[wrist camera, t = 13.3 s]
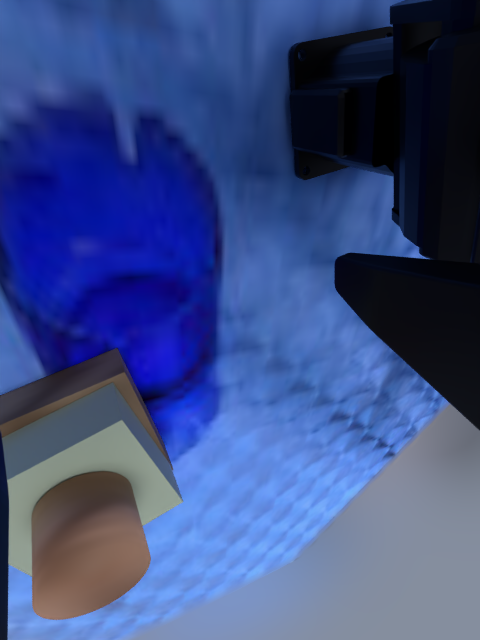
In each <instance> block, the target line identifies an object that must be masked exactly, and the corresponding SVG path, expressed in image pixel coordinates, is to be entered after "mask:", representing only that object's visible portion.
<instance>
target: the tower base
mask: <svg viewBox="0 0 480 640" xmlns="http://www.w3.org/2000/svg"><path fill="white" fill-rule="evenodd" d="M112 382H113V383H114V385H115V386H116V388H117V389H118V390H119V392H120V393H121V395H122V396H123V398H124V399H125V400H126V402H127V403H128V405H129V406H130V408H131V409H132V410H133V412H134V413H135V415H136V416H137V418H138V419H139V421H140V422H141V423H142V425H143V426H144V428H145V429H146V431H147V432H148V433H149V435H150V436H151V438H152V439H153V441H154V442H155V443H156V445H157V446H158V448H159V449H160V451H161V452H162V454H163V455H164V456H165V458H166V459H167V461H168V462H169V464H170V465H171V468H172V470H173V467H172V464H171V462H170V459H169V456H168V453H167V450H166V448H165V445H164V443H163V441H162V438H161V436H160V434H159V432H158V430H157V428H156V426H155V424H154V422H153V420H152V418H151V416H150V414H149V412H148V410H147V408H146V406H145V404H144V402H143V400H142V398H141V395H140V393H139V391H138V389H137V387H136V385H135V383H134V381H133V379H132V377H131V375H130V373H129V371H128V369H127V367H126V365H125V363H124V361H123V359H122V357H121V355H120V352H119V350H118V348H116V349H113V350H111V351H108V352H106V353H104V354H101V355H99V356H96V357H94V358H91V359H89V360H86V361H84V362H81V363H79V364H77V365H74V366H72V367H69V368H67V369H64V370H62V371H59V372H57V373H54V374H52V375H50V376H47V377H45V378H42V379H40V380H37V381H35V382H32V383H30V384H27V385H25V386H23V387H20V388H18V389H15V390H13V391H10V392H8V393H5V394H3V395H0V430H1V434H2V438H3V437H5V436H7V435H9V434H11V433H13V432H15V431H17V430H19V429H21V428H23V427H25V426H27V425H29V424H31V423H33V422H35V421H37V420H39V419H41V418H43V417H45V416H47V415H49V414H51V413H53V412H55V411H57V410H59V409H61V408H63V407H65V406H67V405H69V404H71V403H72V402H74V401H76V400H78V399H80V398H82V397H84V396H86V395H88V394H90V393H92V392H94V391H96V390H98V389H100V388H102V387H104V386H106V385H108V384H110V383H112Z"/></svg>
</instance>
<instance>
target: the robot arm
mask: <svg viewBox="0 0 480 640" xmlns="http://www.w3.org/2000/svg"><path fill="white" fill-rule="evenodd" d="M390 24H393V27H384V28H379V29H373V30H367V31H362V32H356V33H351V34H345V35H340V36H334V37H329V38H323V39H317V40H312V41H306V42H301V43H297V44H295V45H294V46H293V47H292V48H291V51H290V56H289V59H290V78H291V95H290V108H291V126H292V144H293V147H294V154H295V172H296V176H297V177H298V178H300V179H303V180H307V179H311V178H314V177H317V176H321V175H324V174H327V173H330V172H334V171H337V170H340V169H343V168H347V167H354V168H359V169H363V170H367V171H372V172H376V173H380V174H384V175H389V176H393V177H394V208H392V220H393V221H394V222H395V223H396V224H397V225H398V226H400V228H401V231H402V233H403V235H404V237H406V238H407V239H408V240H410V241H411V242H412V243H414V244H415V245H416V246H418V247H419V253H420V254H421V255H422V256H424V257H426V258H429V259H420V258H408V257H396V256H384V255H372V254H360V253H347V254H345V255H342V256H340V257H338V258H337V259H336V260H335V282H334V283H335V288H336V290H337V292H338V293H339V294H340V296H341V297H342V298H343V299H344V300H345V301H346V302H347V304H348V305H349V306H350V307H351V308H352V309H353V310H354V312H355V313H356V314H357V315H358V316H359V317H360V318H361V320H362V321H363V322H364V323H365V324H366V325H367V326H368V327H369V328H370V329H371V330H372V331H373V332H374V333H375V334H376V335H377V336H378V337H379V338H380V339H381V340H382V341H383V342H384V343H385V344H387V345H388V346H389V347H390V348H391V349H392V350H393V351H394V352H395V353H396V354H397V355H398V356H400V357H401V358H402V359H403V360H404V361H405V362H406V363H407V364H408V365H409V366H410V367H411V368H412V369H414V370H415V371H416V372H417V373H418V374H419V375H420V376H421V377H422V378H423V379H424V380H425V381H427V382H428V383H429V384H430V385H431V386H432V387H433V388H434V389H435V390H436V391H437V392H438V393H440V394H441V395H442V396H443V397H444V398H445V399H446V400H447V401H448V402H449V403H450V404H451V405H453V406H454V407H455V408H456V409H457V410H458V411H459V412H460V413H461V414H462V415H463V416H464V417H466V418H467V419H468V420H469V421H470V422H471V423H472V424H473V425H474V426H475V427H476V428H477V429H479V430H480V0H405V1H402V2H400V3H397V4H395V5H392V6H390ZM386 35H387V38H385V37H386ZM300 50H301V52H302V59H301V60H299V58H298V52H299V51H300ZM304 167H306V172H305V173H304V174H303V169H304ZM8 562H9V492H8V482H7V474H6V466H5V458H4V450H3V442H2V434H1V430H0V640H7V634H8Z"/></svg>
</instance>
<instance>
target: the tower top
mask: <svg viewBox="0 0 480 640" xmlns="http://www.w3.org/2000/svg"><path fill="white" fill-rule="evenodd" d="M2 442H3V450H4V458H5V466H6V474H7V482H8V492H9V562H8V564H9V565H11V566H13V567H15V568H17V569H18V570H20V571H22V572H24V573H26V574H28V575H30V576H31V577H32V525H31V518H32V513H33V510H34V508H35V506H36V504H37V503H38V502H39V500H40V499H41V498H42V497H43V496H44V495H45V494H46V493H47V492H49V491H50V490H51V489H53V488H54V487H56V486H57V485H59V484H61V483H62V482H64V481H66V480H68V479H71V478H73V477H76V476H79V475H82V474H87V473H92V472H102V471H103V472H114V473H117V474H120V475H122V476H124V477H125V478H127V479H128V480H129V482H130V483H131V486H132V489H133V493H134V497H135V501H136V504H137V508H138V512H139V515H140V519H141V523H142V526H144V525H145V524H147V523H149V522H150V521H152V520H154V519H155V518H157V517H159V516H160V515H162V514H164V513H165V512H167V511H169V510H170V509H172V508H174V507H175V506H177V505H179V504H180V503H182V502H183V500H182V497H181V494H180V491H179V488H178V485H177V483H176V480H175V477H174V474H173V471H172V468H171V465H170V464H169V462H168V461H167V459H166V458H165V456H164V455H163V454H162V452H161V451H160V449H159V448H158V446H157V445H156V443H155V442H154V441H153V439H152V438H151V436H150V435H149V433H148V432H147V431H146V429H145V428H144V426H143V425H142V423H141V422H140V421H139V419H138V418H137V416H136V415H135V413H134V412H133V410H132V409H131V408H130V406H129V405H128V403H127V402H126V400H125V399H124V398H123V396H122V395H121V393H120V392H119V390H118V389H117V388H116V386H115V385H114V383H113V382H112V383H110V384H108V385H106V386H104V387H102V388H100V389H98V390H96V391H94V392H92V393H90V394H88V395H86V396H84V397H82V398H80V399H78V400H76V401H74V402H72V403H71V404H69V405H67V406H65V407H63V408H61V409H59V410H57V411H55V412H53V413H51V414H49V415H47V416H45V417H43V418H41V419H39V420H37V421H35V422H33V423H31V424H29V425H27V426H25V427H23V428H21V429H19V430H17V431H15V432H13V433H11V434H9V435H7V436H5V437H3V438H2Z"/></svg>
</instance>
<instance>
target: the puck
mask: <svg viewBox="0 0 480 640" xmlns="http://www.w3.org/2000/svg"><path fill="white" fill-rule="evenodd" d="M31 525H32V604H33V609H34V612H35V613H36V614H37V615H39V616H40V617H43V618H45V619H52V620H60V619H69V618H73V617H78V616H81V615H84V614H87V613H90V612H93V611H95V610H98V609H100V608H102V607H104V606H106V605H108V604H110V603H111V602H113V601H115V600H116V599H118V598H119V597H121V596H122V595H124V594H125V593H126V592H128V591H129V590H130V589H131V588H132V587H134V586H135V585H136V584H137V583H138V582H139V581H140V579H141V578H142V577H143V576H144V574H145V573H146V571H147V569H148V568H149V565H150V560H151V558H150V553H149V549H148V545H147V541H146V538H145V534H144V530H143V527H142V523H141V519H140V515H139V512H138V508H137V504H136V501H135V497H134V493H133V489H132V486H131V483H130V482H129V480H128V479H127V478H125V477H124V476H122V475H120V474H117V473H114V472H103V471H102V472H92V473H87V474H82V475H79V476H76V477H73V478H71V479H68V480H66V481H64V482H62V483H61V484H59V485H57V486H56V487H54V488H53V489H51V490H50V491H49V492H47V493H46V494H45V495H44V496H43V497H42V498H41V499H40V500H39V502H38V503H37V504H36V506H35V508H34V510H33V513H32V518H31Z"/></svg>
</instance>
